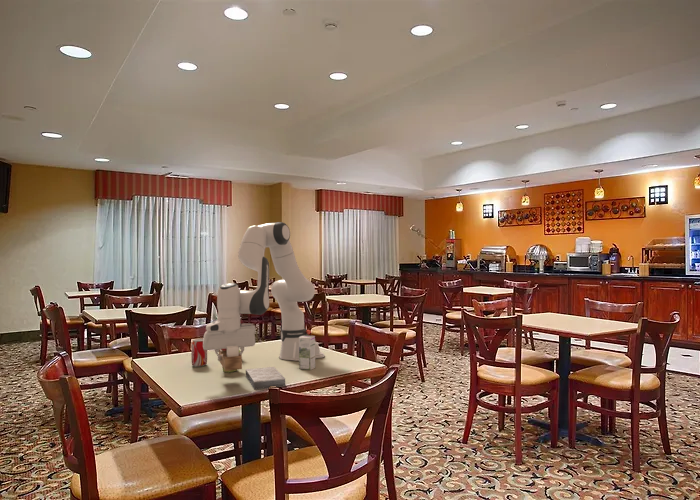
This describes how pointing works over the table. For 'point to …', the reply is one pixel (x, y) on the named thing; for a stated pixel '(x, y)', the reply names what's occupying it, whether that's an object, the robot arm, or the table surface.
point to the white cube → (232, 351)
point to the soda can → (198, 353)
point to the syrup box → (306, 352)
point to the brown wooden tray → (230, 361)
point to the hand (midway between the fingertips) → (229, 359)
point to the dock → (264, 377)
